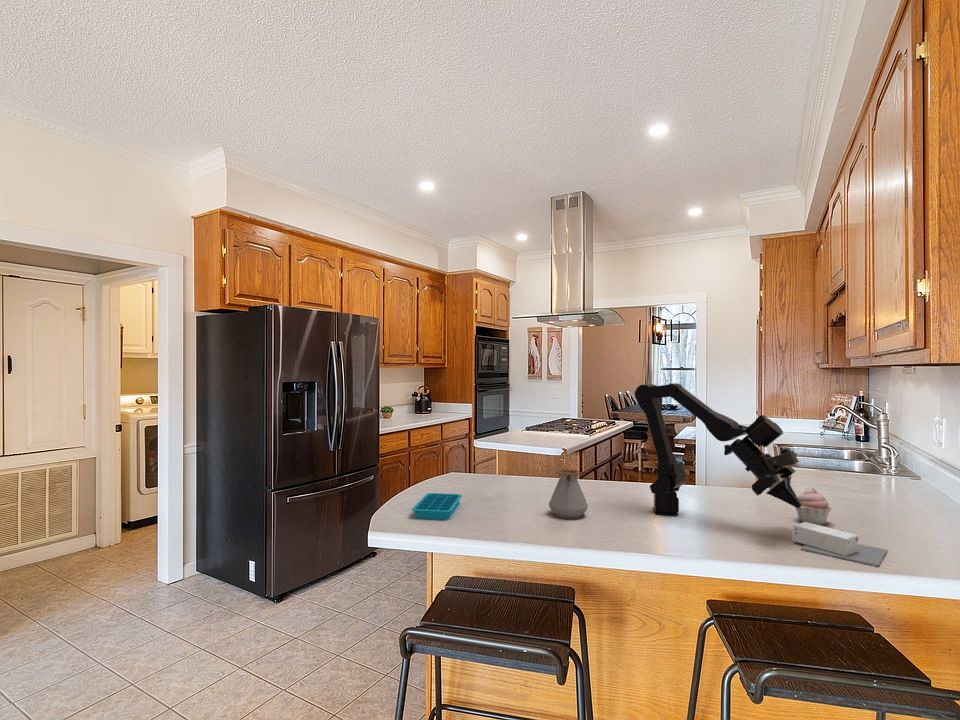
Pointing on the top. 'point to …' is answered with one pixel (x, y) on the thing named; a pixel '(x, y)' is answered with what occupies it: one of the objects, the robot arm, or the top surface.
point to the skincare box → (825, 538)
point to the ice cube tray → (436, 506)
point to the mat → (854, 554)
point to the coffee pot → (568, 496)
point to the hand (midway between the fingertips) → (800, 506)
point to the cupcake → (813, 507)
